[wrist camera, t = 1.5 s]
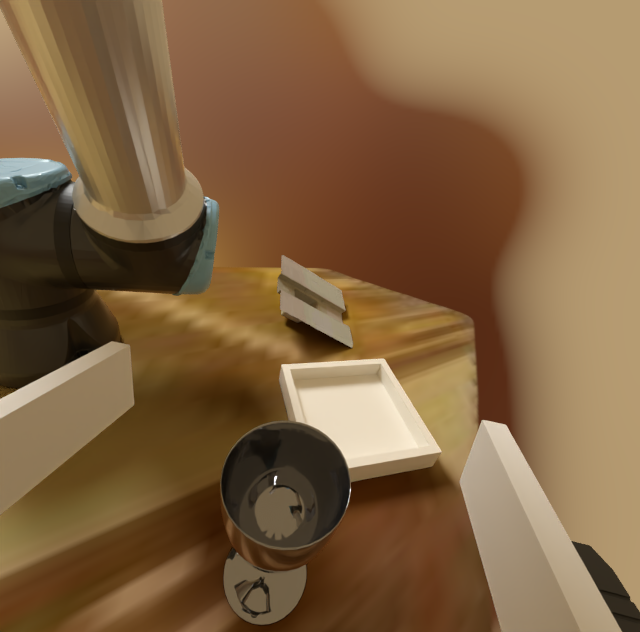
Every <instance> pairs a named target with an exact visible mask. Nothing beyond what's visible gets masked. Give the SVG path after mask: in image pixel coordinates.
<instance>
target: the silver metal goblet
mask: <svg viewBox="0 0 640 632" xmlns="http://www.w3.org/2000/svg"><path fill="white" fill-rule="evenodd" d="M350 493H351V478H350V472H349V468H348V465H347V462H346V460H345V458H344V456H343V454H342V452H341V450H340V449H339V448H338V446H337V445H336V444H335V443H334V442H333V441H332V440H331V439H330V438H329V437H328V436H327V435H326V434H324V433H323V432H321V431H320V430H318V429H316V428H314V427H312V426H310V425H307V424H304V423H301V422H295V421H274V422H269V423H266V424H262V425H260V426H258V427H256V428H253V429H252V430H250V431H249V432H247V433H246V434H244V435H243V436H242V437H241V438H240V439H239V440H238V441H237V442H236V443H235V445H234V446H233V447H232V448H231V450H230V452H229V454H228V455H227V457H226V460H225V463H224V466H223V469H222V475H221V482H220V504H221V515H222V519H223V524H224V527H225V530H226V533H227V536H228V538H229V540H230V543H231V544H232V546H233V547H232V549H231V550H230V552H229V555H228V557H227V559H226V563H225V567H224V574H223V584H224V591H225V595H226V598H227V600H228V603H229V605H230V606H231V608H232V610H233V611H234V612H235V613H236V614H237V615H238V616H239V617H240V618H241V619H243V620H244V621H246V622H249V623H251V624H255V625H270V624H273V623H276V622H278V621H280V620H282V619H283V618H285V617H286V616H287V615H288V614H289V613H291V612H292V610H293V609H294V608H295V607H296V605H297V604H298V602H299V600H300V599H301V597H302V594H303V591H304V589H305V584H306V579H307V564H308V563H309V562H310V561H311V560H313V559H314V558H315V557H316V556H317V555H318V554H319V553H320V552H321V551H322V550H323V549H324V548H325V547H326V546H327V544H328V543H329V542H330V541H331V539H332V537H333V535H334V534H335V532H336V530H337V529H338V527H339V525H340V523H341V521H342V519H343V517H344V514H345V512H346V509H347V506H348V503H349V499H350Z"/></svg>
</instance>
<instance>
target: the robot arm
mask: <svg viewBox="0 0 640 632" xmlns="http://www.w3.org/2000/svg"><path fill="white" fill-rule="evenodd" d="M0 9H1V11H2V13H3V15H4V17H5V19H6V21H7V23H8V26H9V28H10V30H11V32H12V34H13V36H14V38H15V40H16V42H17V44H18V47H19V49H20V51H21V53H22V55H23V57H24V59H25V62H26V64H27V66H28V68H29V70H30V72H31V74H32V76H33V78H34V81H35V83H36V85H37V87H38V89H39V91H40V93H41V95H42V97H43V99H44V102H45V104H46V106H47V108H48V110H49V112H50V114H51V116H52V119H53V121H54V123H55V124H56V127H57V129H58V131H59V133H60V135H61V137H62V140H63V142H64V144H65V146H66V148H67V150H68V152H69V155H70V157H71V159H72V161H73V163H74V165H75V167H76V169H77V171H78V174H79V178H78V179H77V180H76V182H72V181H71V178H72V175H71V173H70V172H69V170H68V169H67V167H66V166H65V165H64V164H62V163H60V162H55V161H53V160H47V159H35V158H4V159H0V385H1V386H6V387H12V388H21V389H19V390H17V391H15V392H13V393H11V394H9V395H7V396H5V397H3V398H1V399H0V515H1V514H2V513H3V512H5V511H6V510H7V509H8V508H10V507H11V506H12V505H13V504H14V503H16V502H17V501H18V500H19V499H20V498H22V497H23V496H24V495H25V494H27V493H28V492H29V491H30V490H31V489H33V488H34V487H35V486H36V485H38V484H39V483H40V482H41V481H42V480H44V479H45V478H46V477H47V476H48V475H50V474H51V473H52V472H53V471H55V470H56V469H57V468H58V467H59V466H61V465H62V464H63V463H64V462H65V461H67V460H68V459H69V458H70V457H72V456H73V455H74V454H75V453H76V452H78V451H79V450H80V449H81V448H83V447H84V446H85V445H86V444H87V443H89V442H90V441H91V440H92V439H93V438H95V437H96V436H97V435H98V434H100V433H101V432H102V431H103V430H104V429H106V428H107V427H108V426H109V425H111V424H112V423H113V422H114V421H115V420H117V419H118V418H119V417H120V416H121V415H123V414H124V413H125V412H126V411H128V410H129V409H130V408H131V407H132V406H134V392H133V379H132V366H131V353H130V345H127V344H123V343H120V341H121V336H120V331H119V326H118V322H117V320H116V318H115V317H114V315H113V314H112V313H111V311H110V310H109V308H108V307H107V305H106V304H105V303H104V301H103V300H102V298H101V297H100V296H99V294H98V293H97V291H96V290H114V291H132V292H150V293H165V294H173V295H176V296H178V295H181V294H201V293H203V292H205V291H206V290H207V289H208V287H209V285H210V282H211V277H212V271H213V263H214V253H215V246H216V239H217V230H218V219H219V206H218V203H217V202H216V201H215V200H212V199H209V198H208V197H204V196H203V192H202V189H201V186H200V184H199V182H198V180H197V179H196V178H195V177H194V175H193V174H192V173H191V172H190V171H188V170H187V169H186V168H185V167H184V163H183V156H182V148H181V140H180V133H179V125H178V118H177V111H176V103H175V96H174V88H173V80H172V73H171V65H170V58H169V51H168V43H167V36H166V28H165V20H164V13H163V6H162V0H0ZM460 485H461V488H462V492H463V496H464V499H465V503H466V506H467V510H468V513H469V517H470V520H471V524H472V527H473V531H474V535H475V538H476V542H477V545H478V549H479V552H480V556H481V559H482V563H483V567H484V570H485V574H486V577H487V581H488V584H489V588H490V591H491V595H492V599H493V602H494V606H495V609H496V612H497V616H498V620H499V623H500V627H501V630H502V632H640V612H639V610H638V609H637V608H636V606H635V604H634V603H633V602H631V601H630V596H629V594H628V593H627V591H626V590H625V588H624V587H623V585H622V583H621V582H620V580H619V579H618V577H617V575H616V574H615V572H614V571H613V570H612V568H610V566H609V565H608V564H607V563H606V562H605V561H604V560H603V559H602V558H601V557H600V556H599V555H598V554H597V553H596V552H595V550H593V548H592V547H591V546H589V545H585V544H581V543H577V542H573V541H571V540H570V538H569V537H568V535H567V533H566V531H565V529H564V528H563V526H562V524H561V522H560V520H559V519H558V517H557V515H556V513H555V512H554V510H553V508H552V506H551V505H550V503H549V501H548V499H547V497H546V496H545V494H544V492H543V490H542V488H541V487H540V485H539V483H538V481H537V480H536V478H535V476H534V474H533V472H532V471H531V469H530V467H529V465H528V463H527V462H526V460H525V458H524V456H523V454H522V453H521V451H520V449H519V447H518V446H517V444H516V442H515V440H514V439H513V437H512V435H511V433H510V432H509V430H508V428H507V426H506V425H504V424H499V423H495V422H490V421H486V420H482V422H481V424H480V427H479V430H478V433H477V435H476V438H475V441H474V443H473V446H472V449H471V451H470V454H469V457H468V460H467V462H466V465H465V468H464V470H463V473H462V476H461V479H460Z"/></svg>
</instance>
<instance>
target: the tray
mask: <svg viewBox="0 0 640 632" xmlns="http://www.w3.org/2000/svg"><path fill="white" fill-rule="evenodd" d="M279 382H280V386H281V390H282V394H283V398H284V403H285V407H286V411H287V415H288V419H289V421H295V422H301V423H304V424H307V425H310V426H312V427H314V428H316V429H318V430H320V431H321V432H323V433H324V434H326V435H327V436H328V437H329V438H330V439H331V440H332V441H333V442H334V443H335V444H336V445H337V446H338V448H339V449H340V450H341V452H342V454H343V456H344V458H345V460H346V462H347V465H348V468H349V472H350V478H351V482H354V481H359V480H364V479H369V478H375V477H380V476H385V475H391V474H396V473H401V472H406V471H412V470H417V469H422V468H427V467H432V466H433V465H434V463H435V462H436V460H437V459H438V457H439V456H440V454H441V453H442V451H441V450H440V448H439V446H438V445H437V443H436V442H435V440H434V438H433V437H432V435H431V434H430V432H429V430H428V429H427V427H426V426H425V424H424V422H423V421H422V419H421V417H420V416H419V414H418V413H417V411H416V409H415V408H414V406H413V405H412V403H411V401H410V400H409V398H408V397H407V395H406V393H405V392H404V390H403V388H402V387H401V385H400V384H399V382H398V380H397V379H396V377H395V376H394V374H393V372H392V371H391V369H390V368H389V366H388V364H387V363H386V361H385V359H369V360H352V361H335V362H318V363H301V364H284V365H281V371H280V378H279Z"/></svg>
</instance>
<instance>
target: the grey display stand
mask: <svg viewBox="0 0 640 632" xmlns="http://www.w3.org/2000/svg"><path fill="white" fill-rule="evenodd" d="M281 270H282V271H281V274H280V275H279V277H278V286H277V288H278V289H277V293H279V294H281V296H280V299H281V300H280V303H281V305H280V309H281V315H282V316H284V317H286V318H288V319H290V320H292V321H294V322H297V323H299V322H301V321H303V322H305V323H307V324H309V325H310V326H312V327H314V328H315V329H317V330H320V331H321V332H323V333H325V334H327V335H329V336H330V337H333V338H334V339H336V340H338V341H340V342H342V343H344V344H346V345H348V346H349V347H351V348H352V345H353V342H352V337H351V334H350V333H351V332H350V328H349V326H347V325H345V324H343V321H342V315H341V314H342V313H343V312H344V311H346V309H345V305H344V301H343V296H342V292H341V290H340V289H338V288H337V287H335V286H334V285H331V284H330V283H328V282H327V281H325V280H323V279H322V278H320V277H319V276H317V275H316V274H314V273H312V272H311V271H309V270H307V269H306V268H304V267H302V266H301V265H299V264H297V263H296V262H294V261H292V260H291V259H289V258H287V257H285V256H284V255H282V266H281Z"/></svg>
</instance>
